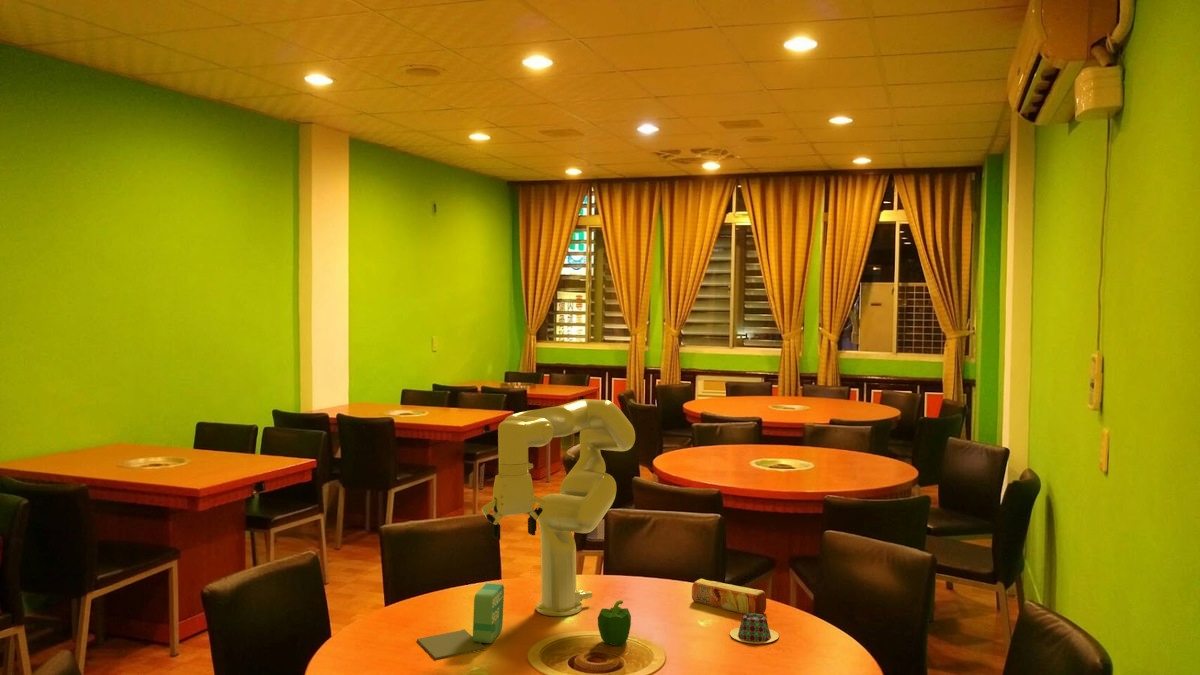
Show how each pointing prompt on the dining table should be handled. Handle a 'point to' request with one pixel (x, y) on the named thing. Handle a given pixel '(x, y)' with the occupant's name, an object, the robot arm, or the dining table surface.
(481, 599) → the teal square box
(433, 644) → the mat
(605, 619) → the bell pepper
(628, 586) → the dining table surface
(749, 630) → the pudding
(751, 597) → the snack package
